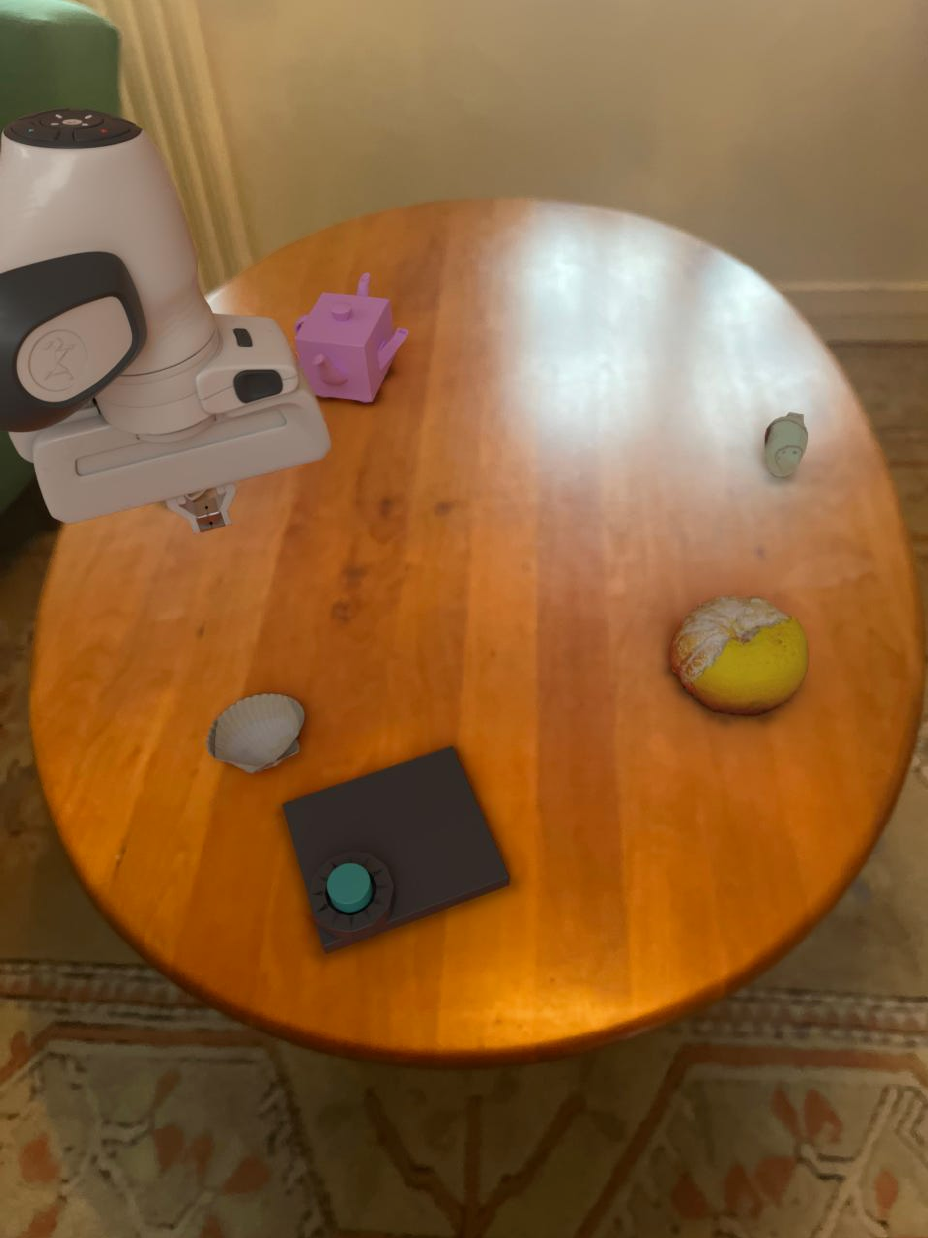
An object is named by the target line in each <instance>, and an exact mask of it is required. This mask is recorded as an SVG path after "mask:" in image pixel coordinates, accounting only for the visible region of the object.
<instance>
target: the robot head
mask: <svg viewBox="0 0 928 1238" xmlns="http://www.w3.org/2000/svg"><path fill="white" fill-rule="evenodd" d="M763 442H764V443H763V444H764V445H763V454H764V458H765V463H766V466H767V468H768V469H769V471H770V473H772V474H773V475H774V476H775V477H777V478H785V477H787V476H789V475H790V474H792V473H794V471H795V470H796V469H797V467H799V465H800V463H801V461H802V459H803V457H804V455H805V454H806V450H807V448H808V443H809V431H808V428H807V426H806V425H805V414H804V413H797V412H791V411H789V412H788V413H787V414H786V415H784V416H779V417H778V418H775V419H773V421H772V422H771V423H770V424H769V425H768V426H767V428H766V429H765V433H764V441H763Z"/></svg>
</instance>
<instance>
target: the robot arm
mask: <svg viewBox="0 0 928 1238" xmlns="http://www.w3.org/2000/svg"><path fill="white" fill-rule="evenodd" d="M176 187H177V186H176V184H175V182H174V180H173V177H172V175H171V172H170V170H169V168H168V165H167V164H166V161H165V160H164V157H163V156H162V154H161V152H160V150H159V148H158V146H157V145H156V143H155V142H154V140H153V138H152V137H151V136H150V135H149V133H148V132H147V131H146V130H145V129H143V127H140V126H139V125H138V124H137V123H135V122H133V121H131V120H128V119H125V118H123V117H121V116H117V115H114V114H110V113H106V112H103V111H99V110H95V109H89V108H84V109H81V108H79V109H77V108H69V107H67V108H66V107H65V108H54V109H53V108H52V109H46V110H40V111H35V112H32V113H28V114H25V115H23V116H20V117H18V118H16V120H14V121H12V122H10V123H9V124H7V125H6V126H5V127H4V128H3V130H2V132H1V137H0V431H3V432H7V435H8V437H9V439H10V441H11V443H12V445H13V447H14V448H15V450H16V453H18V454H19V456H20V457H21V458H23V459H24V460H25V461H27V462H29V463H31V464H33V467H34V472H35V476H36V480H37V483H38V486H39V489H40V492H41V494H42V498H43V500H44V503H45V505H46V507H47V510H48V512H49V514H50V516H51V517H52V518H53V519H55V520H57V521H59V522H61V523H64V524H66V525H75V524H79V523H83V522H87V521H91V520H95V519H98V518H102V517H106V516H111V515H114V514H119V513H122V512H127V511H129V510H133V509H138V508H141V507H145V506H149V505H153V504H156V503H160V502H165V504H166V507H167V509H168V510H170V511H172V513H173V512H174V513H175V514H176V515H178V516H179V517H181V518H183V519H184V520H186V521H189V523H190V526H191V529H192V531H193V534H194V535H197V534H201V533H206V532H209V531H213V530H216V529H220V528H225V527H228V526H231V525H233V522H232V519H231V515H230V512H229V510H230V508H231V506H232V503H233V500H234V499H235V495H236V493H237V491H238V490H237V487H236V483H237V482H241V481H245V480H249V479H253V478H257V477H260V476H264V475H268V474H271V473H276V472H281V471H284V470H288V469H292V468H295V467H299V466H305V465H308V464H311V463H315V462H319V461H323V460H324V459H325V458H326V456H327V455H328V454H329V452H330V450H331V448H332V444H333V443H332V439H331V434H330V432H329V428H328V425H327V421H326V420H325V417H324V414H323V411H322V409H321V406H320V403H319V400H318V398H317V395H315V393H314V391H313V389H312V387H311V384H310V382H309V380H308V378H307V376H306V373H305V371H304V369H303V368H302V366H301V365H300V363H299V361H298V359H296V356H295V354H294V351H293V347H292V346H291V343H290V341H289V339H288V337H287V335H286V333H285V331H284V330H283V328H282V327H281V325H280V324H279V323H278V321H277V320H276V319H274V318H272V317H269V316H268V317H267V316H255V315H253V316H252V315H238V314H226V313H225V314H223V313H215V312H213V310H212V307H211V306H210V304H209V303H208V301H207V300H206V298H205V297H204V295H203V293H202V291H201V289H200V284H199V278H198V277H199V276H198V272H199V262H198V255H197V250H196V247H195V244H194V239H193V236H192V233H191V229H190V226H189V223H188V219H187V216H186V213H185V210H184V207H183V204H182V201H181V198H180V195H179V193H178V190H177V188H176ZM210 489H215V490H216V492H215V495H214V497H210V498H206V499H204V500H198V501H194V500H193V501H192V500H190V499H189V498H188V497H186V496H185V495H188V494H192V493H195V492H199V491H203V490H206V491H207V490H210ZM164 500H165V501H164Z"/></svg>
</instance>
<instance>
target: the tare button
mask: <svg viewBox="0 0 928 1238" xmlns="http://www.w3.org/2000/svg"><path fill="white" fill-rule="evenodd" d="M327 890H328V893H329V896H330V899H331V901H332V903H333V905H334V906H335V907H336V908H337V909H338V910H340V911H343V912H347V913H352V912H356V911H359V910H361V909H363V908H364V907H365V906H366V905H367V904H368V903H369V901H370V899H371V897H372V893H373V888H372V884H371V880H370V876H369V874H368V872H367V871H366V869H365V868H364V867H362V866H360V865H358V864H355V863H347V864H343V865H340V866H339V867H337V868H336V869H334V870H333V872H332V873H331V874H330V876H329V878H328V881H327Z"/></svg>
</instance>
